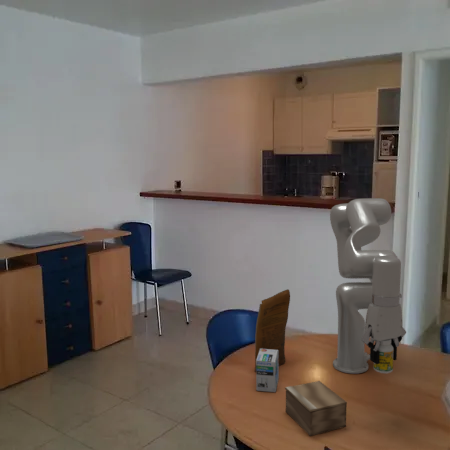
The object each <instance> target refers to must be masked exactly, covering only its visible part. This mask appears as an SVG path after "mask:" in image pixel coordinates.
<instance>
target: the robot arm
mask: <svg viewBox="0 0 450 450" xmlns="http://www.w3.org/2000/svg"><path fill="white" fill-rule="evenodd" d="M391 218H392V207H391V205H390V203H389V202H388V200H387V199H386V198H385V199H384V198H380V197H379V198H378V197H377V198H372V197H371V198H370V197H369V198H368V197H367V198H355V199H352V200H350V201H349V202H348V203H346V202H345V203H339V204H335V205H334V206H332V207H331V208H330V213H329V219H330V220H329V221H330V225H331V229H332V232H333V234H334V236H335V240H336V249H337V251H336V252H337V265H338V266H337V267H338V272H339V275H340V276H341V277H342V278H344V279H350V280H351V279H353V280H354V279H355V280H358V279H368V280H369V282H368V281H367V282H366V281H364V282H363V281H362V282H361V281H360V282H359V281H357V282H355V281H353V282H352V281H351V282H343V283H341V284H339V285H338V286H337V287H336V290H335V298H336V305H337V306H336V307H337V354H336V355H337V357H336V358H335V359H334V360H333V361H332V365H333V368H334V369H335V370H337V371H338V372H339V371H340V372H342V373H346V374H350V375H351V374H354V375H355V374H356V375H357V374H362V373H365V372H367V371H368V370H369V363H368V361H369V360H370V361H371V362H372V363H373V364H374V363H375V364H379V354H380V352H379V351H378V347H379V344H380V341H383V340H388V339H391V345H392V346H393V349H394V351H393V361H396V360H397V359H398V358H397V355H398V354H397V353H398V348H399V346H400V343H401V341H402V340H403V338H404V336H405V335H406V334H407V330H406V329H405V328H404V327H403V312H402V311H403V310H402V304H401V303H400V302H401V301H400V300H401V298H402V297H403V296H402V294H401V278H402V277H401V274H402V271H401V270H402V261H401V259H400V258H399V257H398V256H397V255H396V253H395V251H392V250H388V249H377V250H376V249H372V250H371V249H369V250H368V249H366V250H365V249H364V250H363V249H362V248H363V247H364V246H367V245H369V244H371V243H373V242H375V241H376V240H377V239H378V238H379V237H380V234H381V226H382V225H385V224H387V223H388V222H390V220H391ZM360 310H367V311H366V316H365V318H364V316H363V315H362V314H361V313H360ZM365 345H366V346H367V347H368V348H369V349H370V350H369V351H370V352H369V353H368V352H367V351H365Z"/></svg>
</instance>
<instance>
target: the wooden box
mask: <svg viewBox="0 0 450 450" xmlns="http://www.w3.org/2000/svg"><path fill="white" fill-rule="evenodd" d="M347 404H348V403H347ZM347 404H343V405H339V406H334V407H330V408H325V409H321V410H316V411H312V412H310V411H309V410H307V409H306V408H305V407H304V406H303V405H302V404H301V403H300V402H299V401H298V400H296V399H295V398H294V397H293V396H292V395H291V394H290V393H289V392H288V391H287V390H285V413H286V414H287V415H288V416H289V417H291V419H292V420H293V421H294V422H295V423H296V424H297V425H299V427H301V428H302V429H303V430H304V432H305V433H307V435H309V437H312V436H315V435H319V434H323V433H326V432H330V431H335V430H338V429H341V428H345V427H347Z"/></svg>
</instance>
